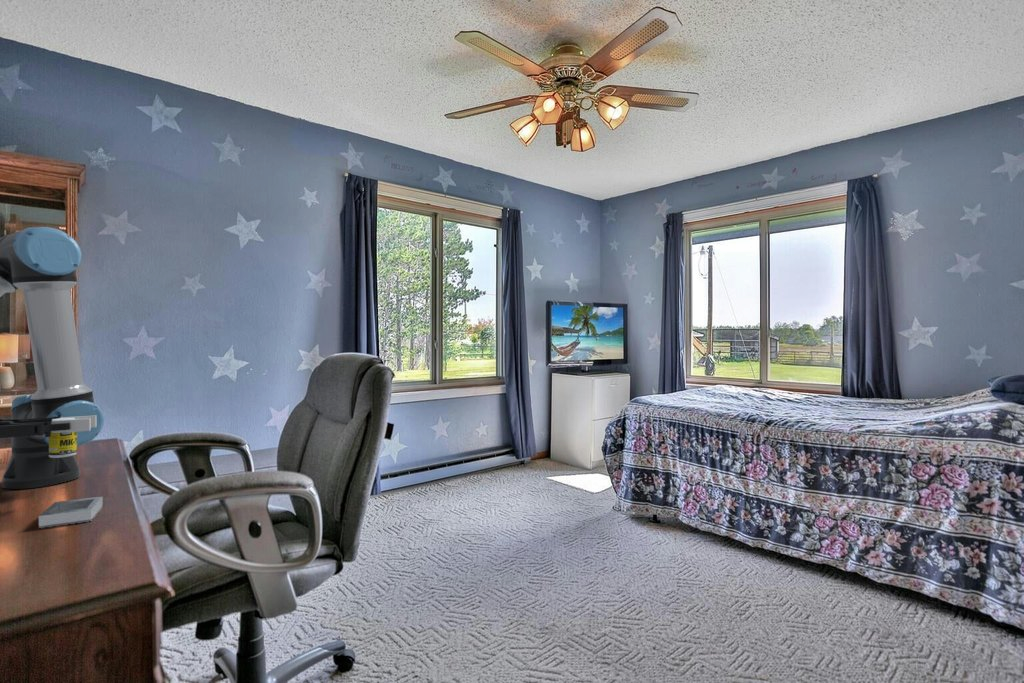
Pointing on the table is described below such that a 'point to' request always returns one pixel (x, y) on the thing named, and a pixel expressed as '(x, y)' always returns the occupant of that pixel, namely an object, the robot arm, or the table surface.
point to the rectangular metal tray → (71, 512)
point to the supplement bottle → (62, 443)
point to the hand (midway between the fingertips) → (92, 422)
